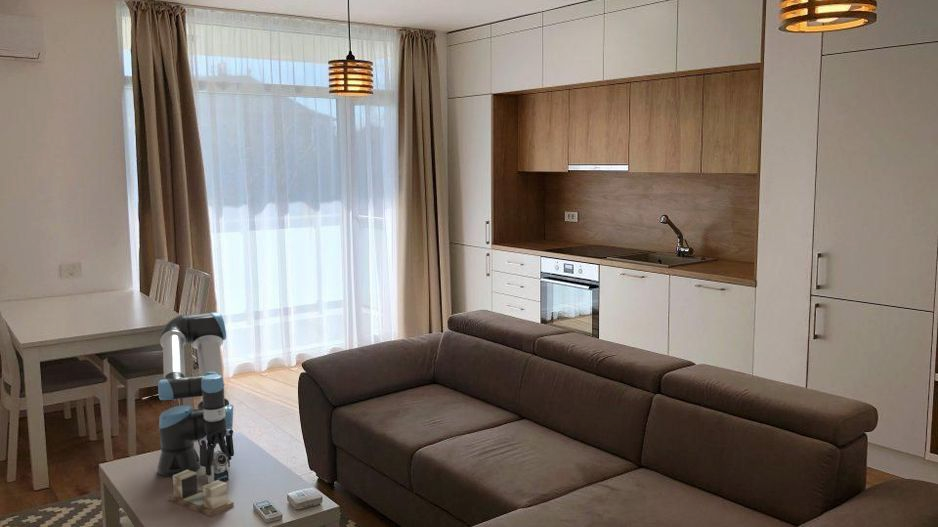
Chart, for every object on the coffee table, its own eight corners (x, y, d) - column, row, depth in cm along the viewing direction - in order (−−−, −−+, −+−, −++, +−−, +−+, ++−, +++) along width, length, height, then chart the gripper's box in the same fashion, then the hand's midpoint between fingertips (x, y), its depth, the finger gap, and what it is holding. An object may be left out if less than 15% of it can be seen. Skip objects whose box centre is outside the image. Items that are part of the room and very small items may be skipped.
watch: (218, 486, 278) (216, 456, 276) (205, 480, 283) (203, 451, 281) (232, 480, 282) (230, 451, 281) (218, 475, 287) (217, 446, 286)
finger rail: (168, 499, 267) (167, 476, 266) (191, 490, 275) (189, 467, 273) (211, 516, 254) (209, 491, 253) (233, 506, 262) (232, 482, 260)
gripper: (199, 427, 269) (203, 491, 273) (242, 412, 285) (246, 473, 288) (185, 423, 274) (190, 486, 277) (229, 409, 289) (232, 468, 292)
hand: (218, 479), depth 282 cm, fingers closed on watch, 6 cm apart
